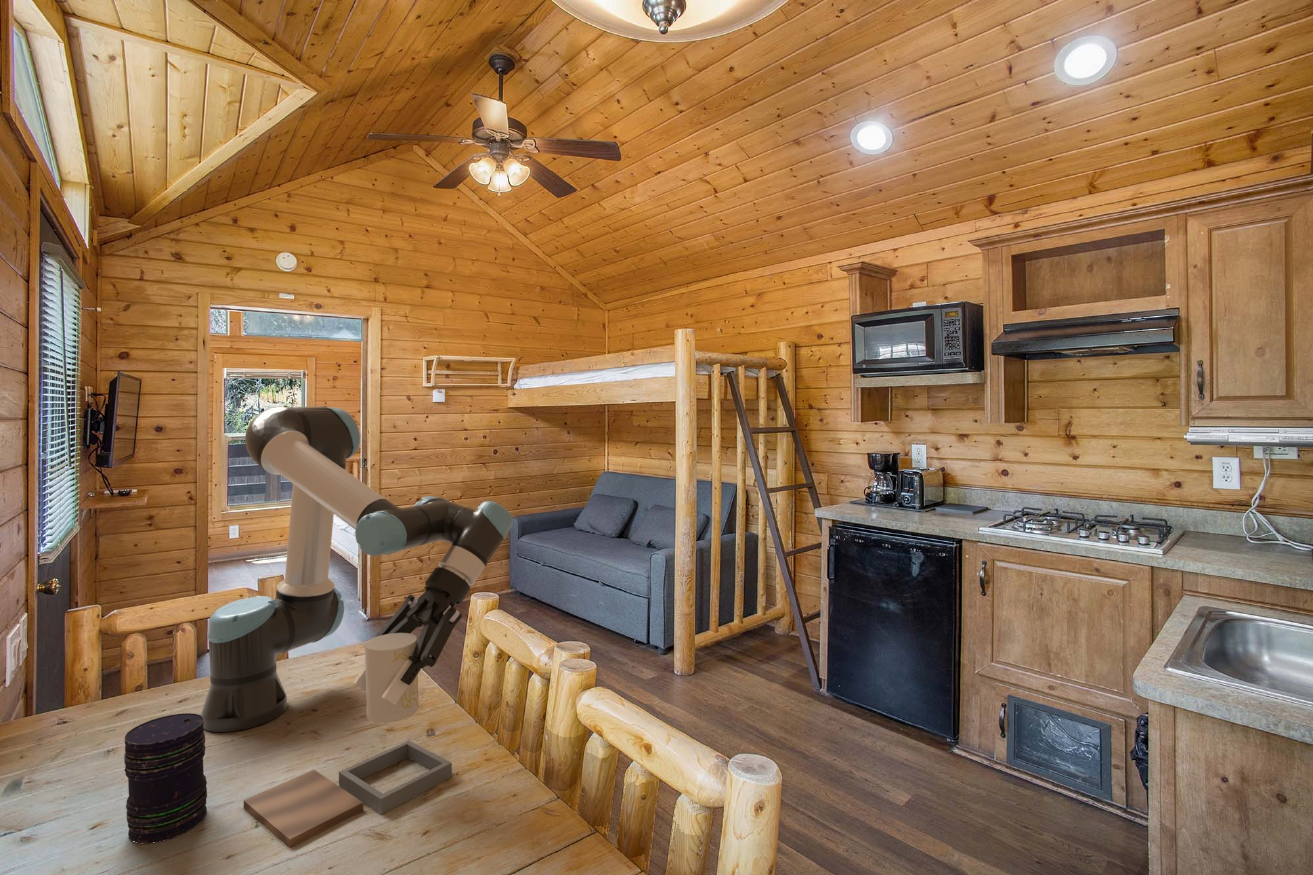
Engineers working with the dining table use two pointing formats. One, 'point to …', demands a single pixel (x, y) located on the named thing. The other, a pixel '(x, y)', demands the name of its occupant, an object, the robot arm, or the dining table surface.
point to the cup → (389, 676)
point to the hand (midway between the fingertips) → (373, 693)
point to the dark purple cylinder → (165, 777)
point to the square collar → (393, 798)
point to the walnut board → (302, 807)
